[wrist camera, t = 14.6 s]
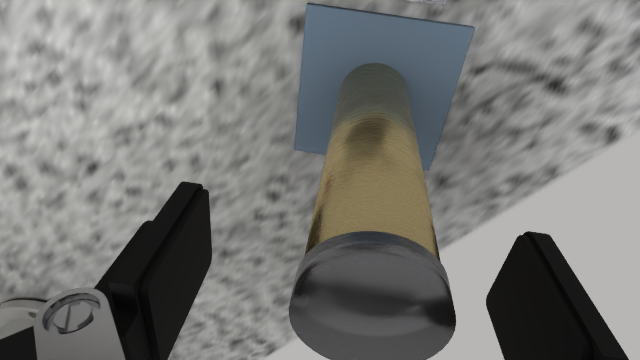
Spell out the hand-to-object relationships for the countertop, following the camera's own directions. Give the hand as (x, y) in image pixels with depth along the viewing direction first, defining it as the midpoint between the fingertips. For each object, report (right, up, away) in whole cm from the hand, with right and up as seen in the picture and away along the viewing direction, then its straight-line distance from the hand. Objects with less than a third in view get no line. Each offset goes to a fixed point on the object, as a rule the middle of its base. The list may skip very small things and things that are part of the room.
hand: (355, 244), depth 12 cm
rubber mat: (+2, +7, +9) cm, 11 cm away
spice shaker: (+2, +6, +9) cm, 11 cm away
